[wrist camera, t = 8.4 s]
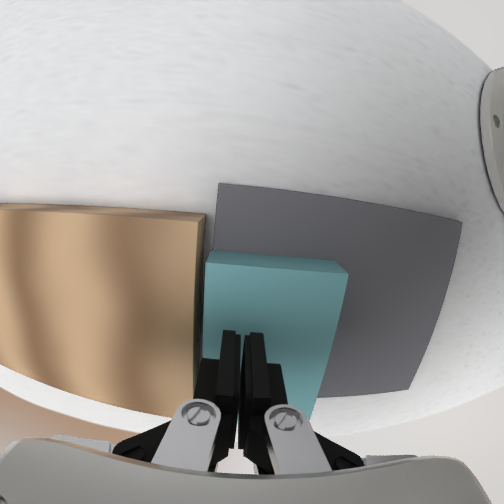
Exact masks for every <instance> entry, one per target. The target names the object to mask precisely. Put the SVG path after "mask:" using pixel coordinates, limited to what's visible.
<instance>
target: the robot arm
mask: <svg viewBox="0 0 504 504" xmlns="http://www.w3.org/2000/svg"><path fill="white" fill-rule="evenodd" d="M480 124H481V134H482V144H483V150H484V156H485V161H486V165H487V170H488V174H489V178H490V181H491V184H492V187H493V191H494V194H495V196H496V198H497V200H498V203H499V205H500V207H501V209H502V211H503V212H504V67H502V68H498V69H495V70H494V71H493V72H491V73H490V74H489V76H488V77H487V79H486V81H485V84H484V87H483V90H482V97H481V106H480ZM240 362H241V335H240V334H236V331H233V330H223V334H222V342H221V350H220V358H219V359H210V358H201V363H200V367H199V372H198V377H197V382H196V387H195V392H194V397H193V399H190V400H187V401H185V402H183V403H182V404H180V405H179V407H178V408H177V410H176V412H175V414H174V416H173V418H172V420H171V421H169V422H166V423H164V424H162V425H160V426H157V427H155V428H153V429H150V430H148V431H146V432H143V433H141V434H138V435H136V436H133V437H131V438H128V439H126V440H123V441H122V442H120V443H118V444H117V445H116V444H110V442H109V441H102V440H93V439H85V438H78V437H71V436H66V435H54V436H52V437H50V438H44V437H24V438H20V439H17V440H15V441H13V442H12V443H11V444H9V445H8V446H7V447H6V448H5V449H4V450H3V452H2V453H1V454H0V504H492V503H491V501H490V500H489V498H488V496H487V495H486V493H485V491H484V489H483V488H482V486H481V484H480V483H479V481H478V480H477V478H476V477H475V476H474V474H473V473H472V472H471V470H470V469H469V468H468V467H467V466H466V465H465V464H464V463H463V462H461V461H460V460H458V459H455V458H451V457H445V456H421V457H417V456H415V455H392V456H391V455H390V456H369V455H368V456H366V457H365V458H360V456H358V455H357V454H355V453H353V452H351V451H349V450H347V449H346V448H344V447H342V446H340V445H338V444H336V443H334V442H332V441H330V440H329V439H327V438H325V437H323V436H321V435H320V434H318V433H316V432H314V431H313V429H312V427H311V424H310V422H309V420H308V418H307V416H306V415H305V413H304V412H303V411H302V410H301V409H299V408H297V407H295V406H292V405H288V400H287V395H286V390H285V384H284V379H283V374H282V368H281V364H276V363H267V358H266V350H265V342H264V334H263V333H258V332H250V335H245V337H244V345H243V354H242V363H241V372H240ZM237 419H238V449H243V450H244V452H243V454H244V457H246V458H248V459H249V460H250V461H252V462H253V463H254V472H255V475H253V474H251V475H250V474H229V473H217V472H216V471H217V467H218V462H219V461H221V460H222V459H224V458H225V457H227V456H228V452H229V451H228V450H229V448H231V449H234V443H235V435H236V427H237Z"/></svg>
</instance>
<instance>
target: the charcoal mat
mask: <svg viewBox="0 0 504 504" xmlns="http://www.w3.org/2000/svg"><path fill="white" fill-rule="evenodd" d="M462 223H463V222H459V221H455V220H451V219H447V218H443V217H438V216H434V215H429V214H425V213H420V212H415V211H410V210H405V209H400V208H395V207H390V206H385V205H379V204H374V203H368V202H362V201H356V200H350V199H344V198H338V197H331V196H325V195H318V194H311V193H303V192H296V191H288V190H280V189H271V188H263V187H253V186H243V185H233V184H222V183H219V184H218V194H217V204H216V216H215V228H214V240H213V250H216V251H228V252H239V253H251V254H263V255H274V256H286V257H297V258H309V259H321V260H333V261H336V262H337V263H338V264H339V265H340V266H341V267H342V268H343V269H344V270H345V271H346V272H347V273H348V274H349V275H348V280H347V285H346V290H345V294H344V299H343V303H342V308H341V312H340V316H339V320H338V324H337V329H336V332H335V336H334V340H333V344H332V348H331V351H330V355H329V359H328V362H327V366H326V369H325V373H324V376H323V379H322V382H321V386H320V389H319V392H318V395H317V398H324V397H343V396H357V395H368V394H378V393H386V392H394V391H401V390H408V389H409V387H410V385H411V383H412V381H413V378H414V376H415V374H416V372H417V370H418V368H419V365H420V363H421V361H422V358H423V356H424V354H425V351H426V349H427V346H428V344H429V341H430V339H431V336H432V333H433V331H434V328H435V325H436V322H437V320H438V317H439V314H440V311H441V308H442V304H443V301H444V298H445V295H446V291H447V288H448V285H449V281H450V277H451V273H452V270H453V266H454V262H455V257H456V253H457V248H458V244H459V239H460V234H461V228H462Z"/></svg>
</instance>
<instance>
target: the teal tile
mask: <svg viewBox="0 0 504 504" xmlns="http://www.w3.org/2000/svg"><path fill="white" fill-rule="evenodd" d="M348 275H349V274H348V273H347V272H346V271H345V270H344V269H343V268H342V267H341V266H340V265H339V264H338V263H337V262H336V261H333V260H321V259H309V258H297V257H286V256H274V255H263V254H251V253H239V252H228V251H216V250H211V251H210V253H209V256H208V258H207V261H206V267H205V288H204V313H203V353H202V358H210V359H219V358H220V350H221V342H222V334H223V330H233V331H236V334H240V335H241V362H240V372H241V363H242V354H243V345H244V337H245V335H250V332H258V333H263V334H264V342H265V350H266V358H267V363H276V364H281V368H282V374H283V379H284V384H285V390H286V395H287V400H288V405H292V406H295V407H297V408H299V409H301V410H302V411H303V412H304V413H305V415H306V416H307V418H308V420H309V419H310V416H311V413H312V411H313V408H314V405H315V401H316V398H317V395H318V392H319V389H320V386H321V382H322V379H323V376H324V373H325V369H326V366H327V362H328V359H329V355H330V351H331V348H332V344H333V340H334V336H335V332H336V329H337V324H338V320H339V316H340V312H341V308H342V303H343V299H344V294H345V290H346V285H347V280H348ZM237 420H238V419H237Z"/></svg>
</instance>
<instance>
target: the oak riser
mask: <svg viewBox="0 0 504 504" xmlns="http://www.w3.org/2000/svg"><path fill="white" fill-rule="evenodd" d="M205 220H206V214H200V213H188V212H176V211H162V210H148V209H133V208H117V207H98V206H77V205H51V204H9V203H0V364H1V365H3V366H5V367H7V368H9V369H11V370H13V371H16V372H18V373H20V374H22V375H25V376H27V377H29V378H32V379H34V380H37V381H39V382H42V383H44V384H47V385H49V386H52V387H55V388H58V389H60V390H63V391H66V392H69V393H72V394H75V395H78V396H81V397H85V398H88V399H91V400H95V401H98V402H102V403H105V404H109V405H113V406H117V407H121V408H125V409H130V410H134V411H139V412H144V413H149V414H154V415H159V416H165V417H171V418H173V416H174V414H175V412H176V410H177V408H178V407H179V405H180V404H182V403H183V402H185V401H187V400H190V399H193V397H194V392H195V387H196V382H197V377H198V372H199V330H200V303H201V281H202V263H203V247H204V233H205Z"/></svg>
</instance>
